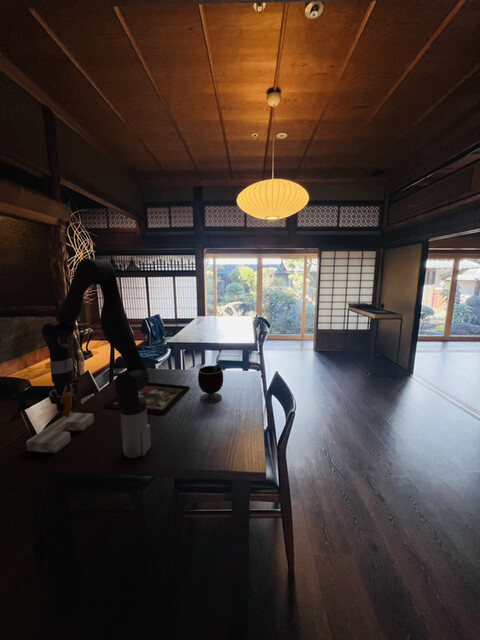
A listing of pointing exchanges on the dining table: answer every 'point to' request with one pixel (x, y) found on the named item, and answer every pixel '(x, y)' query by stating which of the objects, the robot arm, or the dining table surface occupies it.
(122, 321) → the robot arm
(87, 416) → the notched board
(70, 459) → the dining table surface
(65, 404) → the carrot
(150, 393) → the framed painting
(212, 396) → the mate gourd
